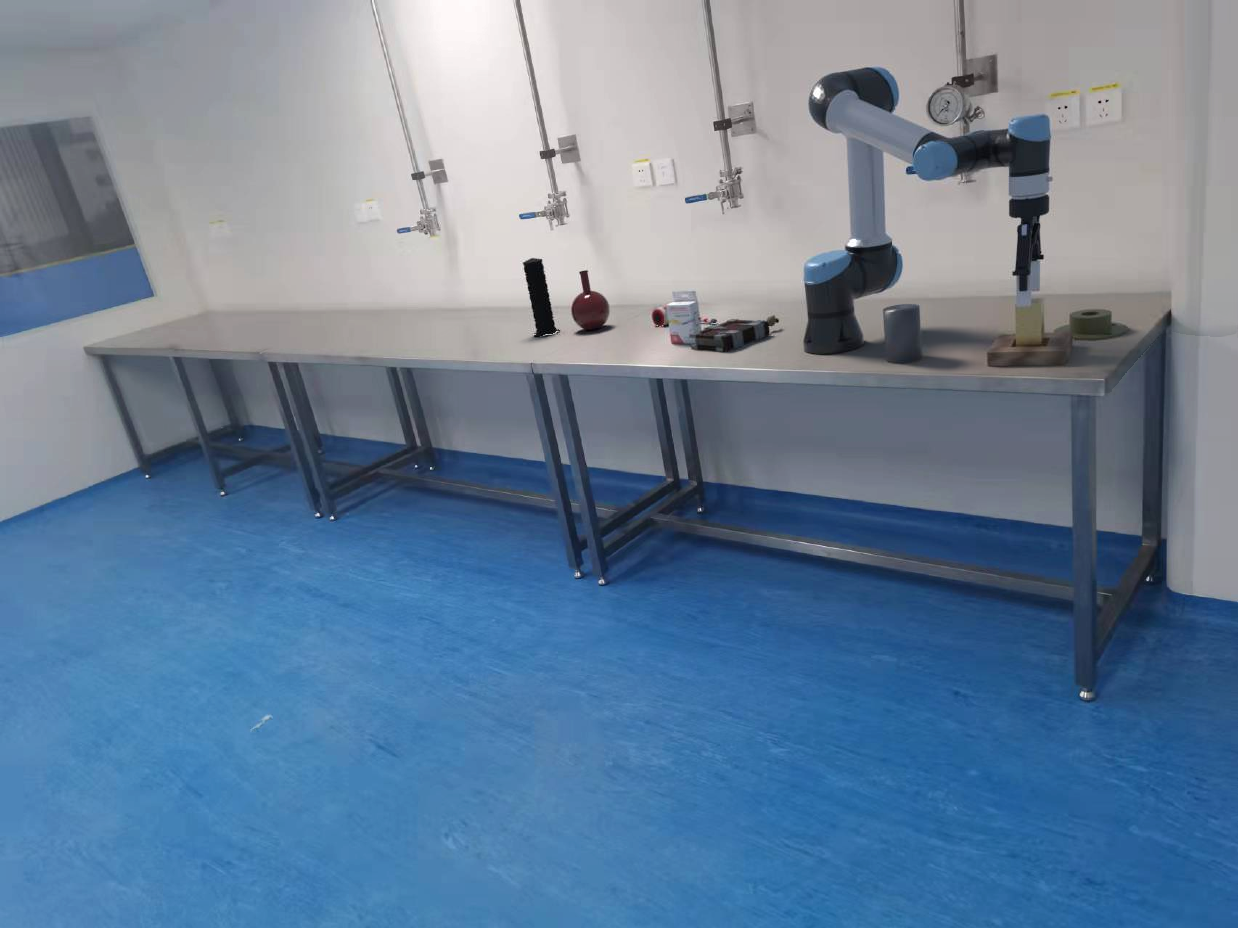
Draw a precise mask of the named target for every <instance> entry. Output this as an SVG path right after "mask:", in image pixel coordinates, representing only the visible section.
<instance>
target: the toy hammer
mask: <svg viewBox="0 0 1238 928" xmlns="http://www.w3.org/2000/svg"><path fill="white" fill-rule="evenodd" d="M651 320H652V322H653V325H654V326H656V325H658V326H662V325H663V327H665V326H664V325H666V324H667V325H669V323H668V316H667V309H666V306H665V307H661V306H660V307H657V308H654V309H653V310H652V312H651ZM700 322H702V323H705V324H710V323H716V322H717V323H718V320H717V318H706V317H701V316H700ZM667 325H666V326H667ZM658 326H657V327H658Z"/></svg>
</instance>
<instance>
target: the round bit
mask: <svg viewBox="0 0 1238 928" xmlns="http://www.w3.org/2000/svg"><path fill="white" fill-rule="evenodd" d="M920 309H921V307H920V305H919V304H916V303H904V304H903V303H902V304H895V305H890V306H887V307H885V308H883V309H882V316H883V317H882V318H883V319H882V320H883V329H884V330H883V331H884V332H883V333H884V334H883V335H884V345H885V346H884V347H885V362H887V363H889V364H897V365H899V364H900V365H901V364H902V365H903V364H909V363H915V362H918V361H920V360H922V359H923V349H922V330H921V329H922V328H921V311H920Z"/></svg>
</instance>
